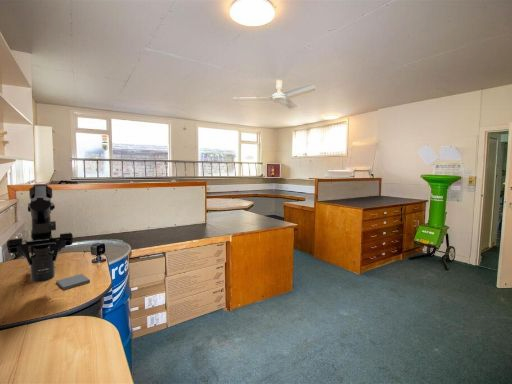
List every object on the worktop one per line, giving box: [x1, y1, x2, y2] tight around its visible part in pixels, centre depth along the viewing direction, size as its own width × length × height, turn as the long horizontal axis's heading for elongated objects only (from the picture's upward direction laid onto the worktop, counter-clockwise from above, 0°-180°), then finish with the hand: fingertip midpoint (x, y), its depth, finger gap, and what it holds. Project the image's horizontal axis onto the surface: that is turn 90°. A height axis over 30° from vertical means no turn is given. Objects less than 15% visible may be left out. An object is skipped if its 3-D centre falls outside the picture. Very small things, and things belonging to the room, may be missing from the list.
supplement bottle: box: [29, 245, 56, 283], centre depth 94 cm, size 7×7×12 cm
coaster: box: [55, 273, 91, 290], centre depth 105 cm, size 9×9×1 cm
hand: (42, 262), depth 93 cm, fingers closed on supplement bottle, 7 cm apart
